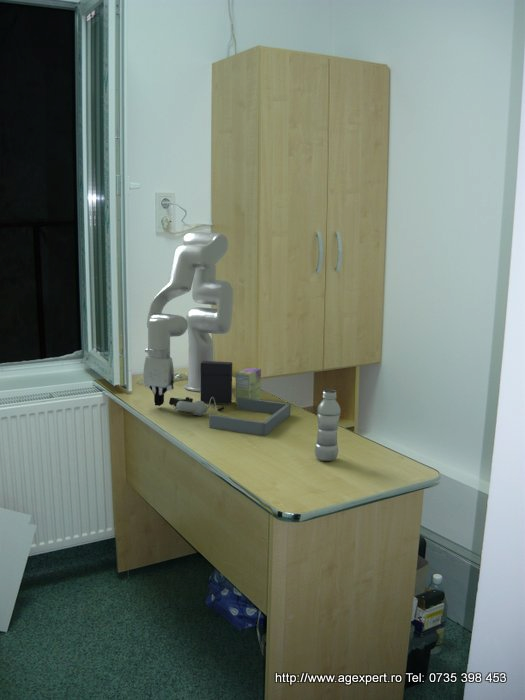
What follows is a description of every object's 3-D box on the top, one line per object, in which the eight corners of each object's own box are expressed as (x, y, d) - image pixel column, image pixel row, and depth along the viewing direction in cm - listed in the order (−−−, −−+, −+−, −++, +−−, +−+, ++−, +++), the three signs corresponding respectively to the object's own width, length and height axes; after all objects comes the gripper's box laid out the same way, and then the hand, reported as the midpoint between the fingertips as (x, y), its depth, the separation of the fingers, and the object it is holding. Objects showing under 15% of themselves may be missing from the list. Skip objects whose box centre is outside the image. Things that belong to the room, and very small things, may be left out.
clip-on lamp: (215, 414, 241) (167, 407, 234) (218, 396, 241) (170, 389, 234) (226, 420, 231) (176, 414, 223) (230, 402, 230) (180, 395, 223)
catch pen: (238, 408, 239) (238, 397, 238) (290, 415, 232) (290, 403, 232) (209, 427, 217) (209, 415, 216) (265, 436, 210) (265, 423, 209)
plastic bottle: (310, 457, 193) (313, 389, 189) (331, 454, 196) (334, 387, 192) (320, 465, 187) (324, 395, 183) (342, 462, 190) (346, 393, 186)
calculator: (231, 401, 247) (232, 361, 244) (230, 405, 242) (231, 364, 239) (202, 400, 248) (202, 360, 245) (200, 403, 243) (200, 362, 240)
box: (246, 397, 253) (247, 366, 251) (260, 399, 251) (261, 368, 248) (234, 404, 244) (235, 372, 241) (248, 406, 241) (249, 374, 239)
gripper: (134, 353, 231) (134, 404, 235) (173, 357, 226) (173, 410, 230) (145, 349, 238) (145, 399, 242) (183, 353, 233) (183, 404, 237)
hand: (159, 404), depth 236 cm, fingers closed
